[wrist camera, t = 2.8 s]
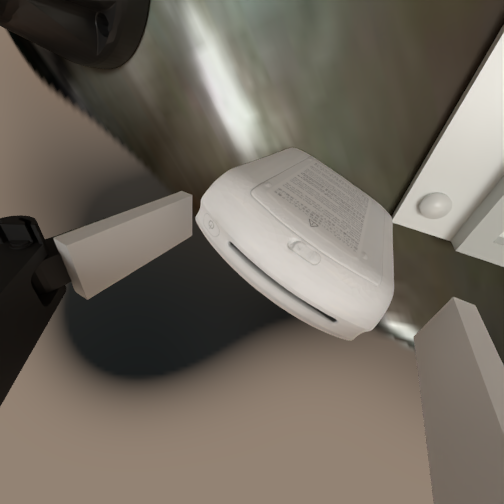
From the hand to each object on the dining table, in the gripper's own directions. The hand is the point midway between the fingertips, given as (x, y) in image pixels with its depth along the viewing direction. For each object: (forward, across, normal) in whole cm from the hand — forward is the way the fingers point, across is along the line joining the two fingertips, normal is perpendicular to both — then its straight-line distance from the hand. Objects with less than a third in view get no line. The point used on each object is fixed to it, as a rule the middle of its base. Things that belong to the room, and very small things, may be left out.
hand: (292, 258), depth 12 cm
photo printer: (+10, 0, 0) cm, 10 cm away
